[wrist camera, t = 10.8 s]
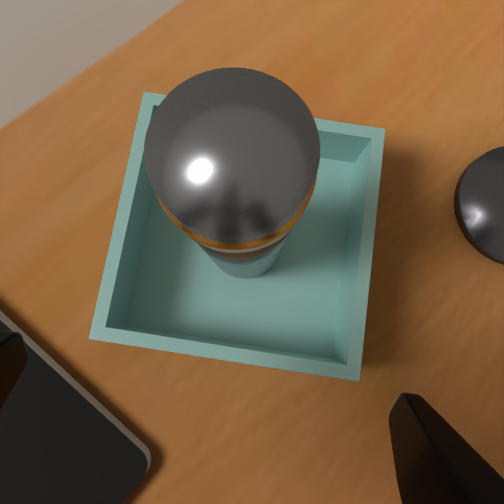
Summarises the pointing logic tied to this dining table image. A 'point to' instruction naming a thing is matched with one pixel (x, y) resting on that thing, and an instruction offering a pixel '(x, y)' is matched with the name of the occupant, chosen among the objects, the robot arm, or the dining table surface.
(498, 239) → the dark metal disc
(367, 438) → the dining table surface
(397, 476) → the robot arm
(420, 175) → the dining table surface
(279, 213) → the strut
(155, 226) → the bin
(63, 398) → the smartphone
